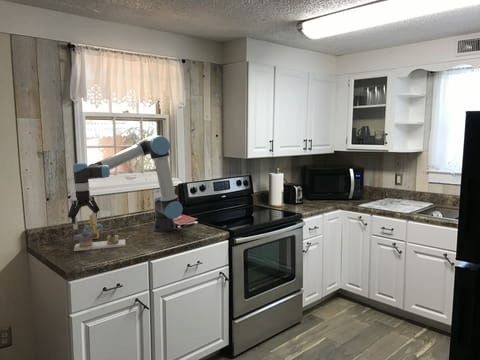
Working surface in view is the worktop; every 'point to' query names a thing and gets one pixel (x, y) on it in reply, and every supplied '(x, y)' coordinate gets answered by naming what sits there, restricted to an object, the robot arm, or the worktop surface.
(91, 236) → the square frame with hole
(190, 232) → the worktop surface
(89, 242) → the peg
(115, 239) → the stand
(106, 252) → the worktop surface
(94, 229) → the tube with blue rings
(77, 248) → the board
